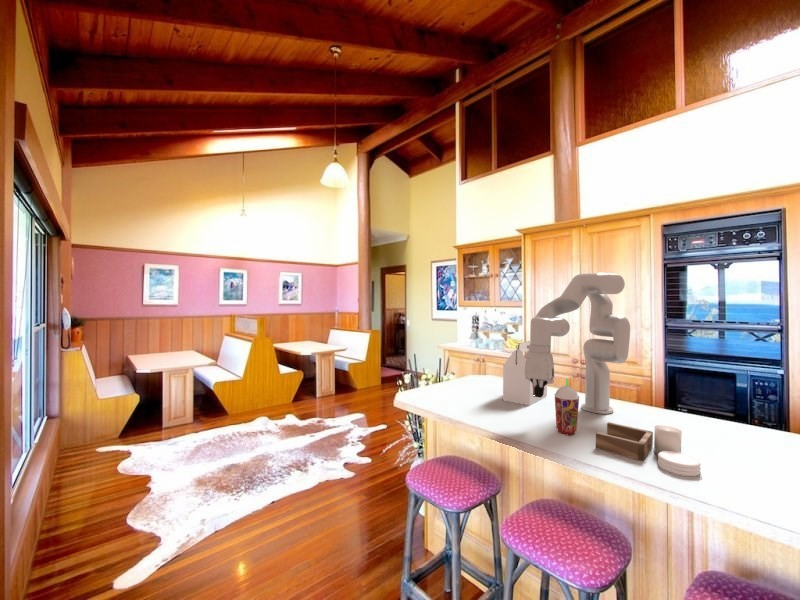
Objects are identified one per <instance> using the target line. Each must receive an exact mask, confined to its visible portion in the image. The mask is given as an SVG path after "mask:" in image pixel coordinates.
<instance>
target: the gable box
mask: <svg viewBox="0 0 800 600" xmlns="http://www.w3.org/2000/svg"><path fill="white" fill-rule="evenodd" d="M527 345H530V340H528V341H524V342H519V343H518V344H517V345H515V350H514V351H513V352H512V353H511V354H510V356H509V357H508V358H507V360H506V361H505V362H504V364H503V365H502V369H503V370H502V372H503V373H502V375H503V377H502V400H503V401H504V400H505V402H508V401H509V403H513V402H515V403H514V404H518V403H520V404H519V405H523V404H525V405H524V406H527V405H530V406H532V405H533V403H534V404H535V402H536V403H537V402H539V401H541V400H543V399H545V398H546V396H547V397H548V384H547V385H545V386H544V395H543V396H542V397H540V398H539V397H535V396H533V395H535V393H534V391H535V386H534V385H533V383H532V382H531V381H529V380H527V379H526V376H525V363H526V357H527V353H528V352H530V351H529V349H528V348H527ZM523 352H524V353H525V355H524V353H523ZM539 384H540V380H539ZM531 404H532V405H531Z"/></svg>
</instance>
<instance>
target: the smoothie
mask: <svg viewBox="0 0 800 600" xmlns="http://www.w3.org/2000/svg"><path fill="white" fill-rule="evenodd" d="M568 383H569V378H566V379H565V385H564V386H561V387H559V388H558V389H556V392H555V393H554V407H555V409H554V410H555V427H556V429H557V432H558V433H559V434H561V435H563V434H564V435H563V436H574V435H575V434H576V432H577V431H578V430H577V428H578V417H579V416H578V415H579V404H580V396H579V394H578V392H577V391H576V390H575V388H573V387H572V386H569V385H568Z"/></svg>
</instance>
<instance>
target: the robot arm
mask: <svg viewBox="0 0 800 600" xmlns="http://www.w3.org/2000/svg"><path fill="white" fill-rule="evenodd" d="M625 285H626V283H625V279H624V278H623V276H622V275H621V274H618V273H608V272H607V273H606V272H592V273H591V272H590V273H589V272H588V273H579V274H576V275H575V276H574V277H573V278H571V280H570V282H569V283H568V285H567V286H566V288H565V289H564V290H563V292H562V294H560V296H559V297H556V298H555V299H553V300H552V301H550V302H548V303H547V304H544V306H542V307H541V308H540V310H538V312H537V313H536V315H535V317H533V318H531V319H530V330H529V331H530V333H529V341H530V345H527V348H528V349H529V351H530V352H528V353H527V357H526V363H525V376H526V379H527V380H529V381H531V382H532V383H533V385H534V386H535V391H534V393H535V397H539V398H540V397H542V396H543V395H544V386H545V385H547V386H548V385H552V384H554V383H555V380H554V378H555V363H554V358H553V357H554V356H553V353H551V349H552V348H551V346H552V343H551V342H552V337H560V338H561V337H564V336H566V335H567V334H568V333H569V331H570V325H571V324H570V323H569V321H568V320H566V318H562V317H558V316H560V315H561V316H562V315H564V314H568V313H571V312H574V311H577V310H578V309H580V307H581V306H582V304H583V303H584V301H585V300H586V299H587V298H588V299H589V301H590V306H591V307H590V314H589V315H590V317H589V332H590V333H591V335H594V336H598V337H606V338H612V339H613V340H612V339H602V338H589V339H587V340H586V341H585V342H584V344H583V348H582V349H583V355H584V362H585V383H584V385H585V389H584V390H585V393H584V397H585V399H584V403H581V405H580V407H581V409H582V410H583V411H586V412H589V413H594V414H600V415H605V414H606V415H607V414H608V415H609V414H613V413H614V408H613V407H611V406H610V398H611V397H610V395H611V393H610V392H611V391H610V389H611V387H610V385H611V383H610V381H611V379H610V377H611V374H610V367H609V366H608V364H607V363H612V364H620V365H621V364H624V363H625V362H626V361H627V359H628V356H629V351H630V339H631V338H630V337H631V324H630V321H629V319H628V318H627V317H626V316H623V315H617V314H616V315H614V314H613V309H614V308H613V306H614V305H613V304H614V303H613V302H612V300H611V298H610V296H608V295H618V294H621V292H623V291H624V288H625ZM539 380H540V384H539Z"/></svg>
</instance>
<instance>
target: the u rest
mask: <svg viewBox="0 0 800 600" xmlns="http://www.w3.org/2000/svg"><path fill="white" fill-rule="evenodd" d="M653 439H654V431H651V430H646V429H641V428H638V427H637V428H636V427H632V426H629V425H628V426H627V425H622V424H619V423H614V422H609V421H608V422H607V423H606V433H604V432H599V431H598V432H597V431H596V432H595V449H597V450H601V451H605V452H609V453H613V454H616V455H620V456H623V457H626V458H631V459H634V460H639V461H642V462H644V461H645V459H646V458H647V456H648V455H649V453H650V451H651V450H652V449H653V447H654V446H653V445H654V440H653ZM652 446H653V447H652ZM650 449H651V450H650ZM647 454H648V455H647Z"/></svg>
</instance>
